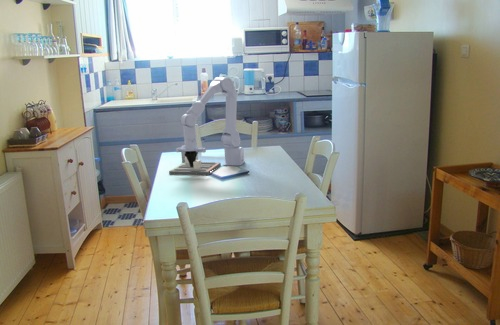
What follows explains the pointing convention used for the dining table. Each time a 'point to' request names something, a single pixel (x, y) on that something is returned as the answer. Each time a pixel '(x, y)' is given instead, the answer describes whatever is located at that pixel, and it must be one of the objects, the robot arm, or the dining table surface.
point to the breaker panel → (187, 170)
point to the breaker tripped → (197, 164)
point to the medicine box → (185, 156)
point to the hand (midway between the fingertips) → (192, 166)
